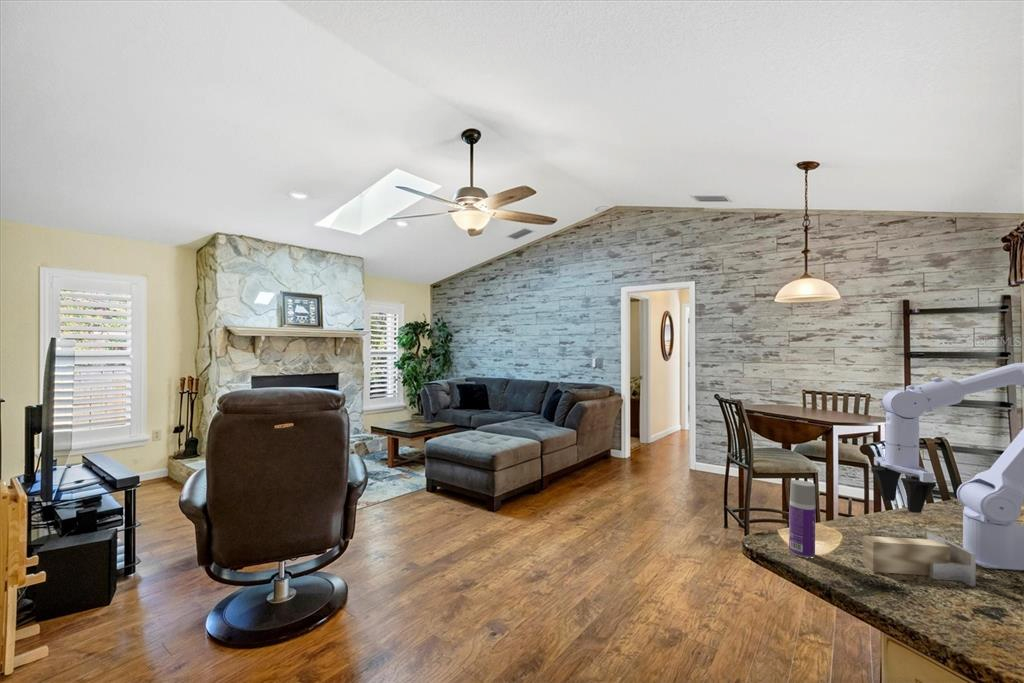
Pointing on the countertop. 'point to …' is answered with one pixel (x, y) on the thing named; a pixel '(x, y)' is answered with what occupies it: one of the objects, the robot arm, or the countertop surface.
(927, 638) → the countertop surface
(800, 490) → the container
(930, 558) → the rail
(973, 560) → the bracket
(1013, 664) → the countertop surface
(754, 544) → the countertop surface
